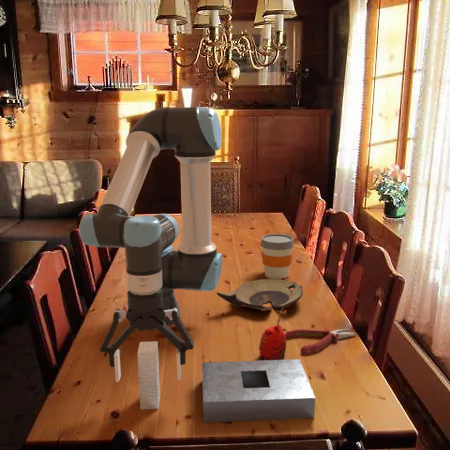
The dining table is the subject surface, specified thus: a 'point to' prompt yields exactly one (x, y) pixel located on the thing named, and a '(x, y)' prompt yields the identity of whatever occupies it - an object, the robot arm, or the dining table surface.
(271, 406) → the bracket head
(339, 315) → the dining table surface
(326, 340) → the pliers
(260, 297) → the broken bowl
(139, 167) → the robot arm
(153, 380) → the white tall block
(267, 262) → the reusable coffee cup
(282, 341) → the red clay folk toy
